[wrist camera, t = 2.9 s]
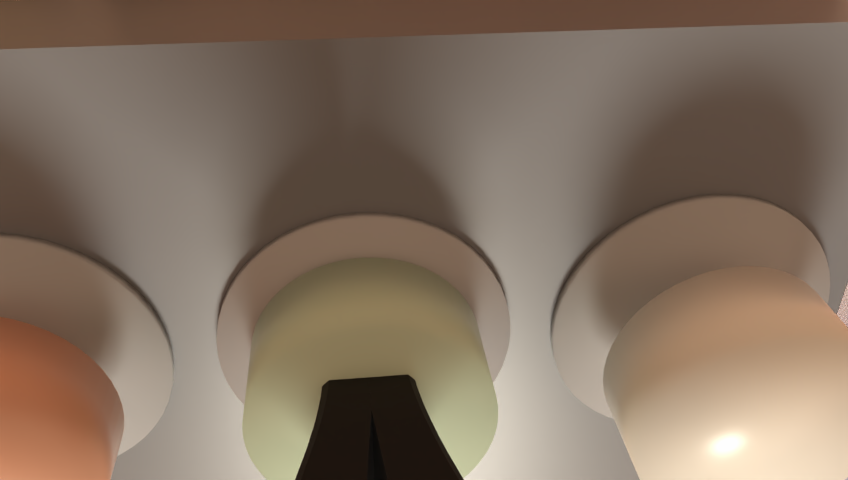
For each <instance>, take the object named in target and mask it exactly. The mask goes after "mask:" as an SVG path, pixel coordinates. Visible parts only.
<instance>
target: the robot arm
mask: <svg viewBox="0 0 848 480" xmlns="http://www.w3.org/2000/svg"><path fill="white" fill-rule="evenodd" d="M295 480H464V479H463V477H462V476H461V474H460V472H459V470H458V469H457V467H456V465H455V464H454V462H453V460H452V459H451V457H450V455H449V453H448V452H447V450H446V448H445V446H444V444H443V443H442V441H441V439H440V437H439V435H438V433H437V431H436V429H435V427H434V425H433V423H432V421H431V419H430V417H429V415H428V412H427V410H426V408H425V406H424V403H423V401H422V398H421V396H420V393H419V390H418V388H417V385H416V381H415V379H413V378H412V377H411V376H410V375H408V374H407V375H393V376H380V377H366V378H352V379H338V380H329V381H327V382H326V383H325V384H324V385H323V386H322V390H321V398H320V403H319V407H318V412H317V416H316V420H315V423H314V427H313V430H312V433H311V436H310V440H309V443H308V446H307V449H306V452H305V454H304V457H303V460H302V462H301V465H300V468H299V470H298V473H297V476H296V478H295ZM845 480H848V478H846V479H845Z"/></svg>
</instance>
